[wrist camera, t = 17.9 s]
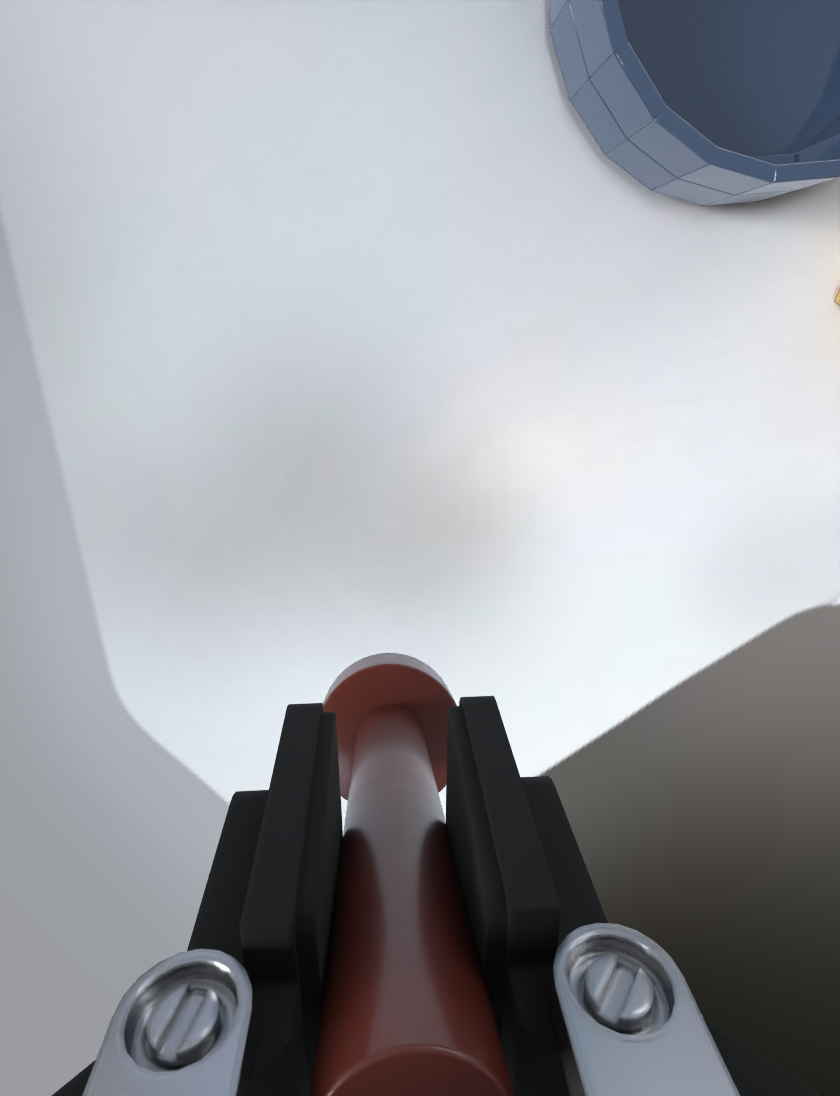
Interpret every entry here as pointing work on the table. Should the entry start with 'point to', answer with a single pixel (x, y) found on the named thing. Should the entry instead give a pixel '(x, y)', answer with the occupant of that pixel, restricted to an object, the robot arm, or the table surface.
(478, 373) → the table surface
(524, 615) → the table surface
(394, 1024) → the red capped peg
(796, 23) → the bowl
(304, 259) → the table surface
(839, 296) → the rubber stamp
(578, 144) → the table surface
